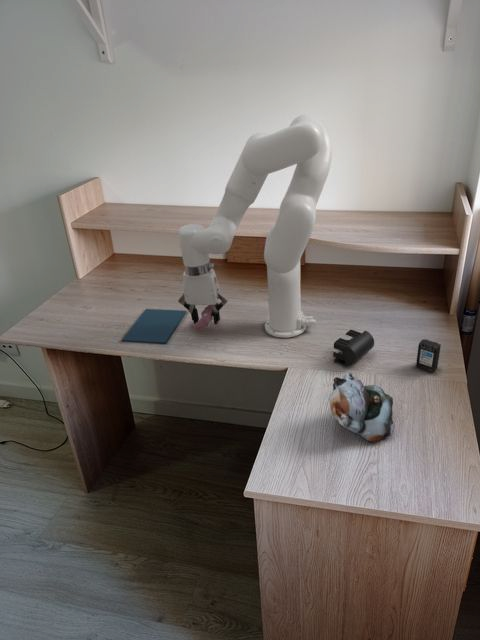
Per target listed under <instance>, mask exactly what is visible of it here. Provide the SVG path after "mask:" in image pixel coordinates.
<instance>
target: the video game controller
mask: <svg viewBox="0 0 480 640" xmlns="http://www.w3.org/2000/svg"><path fill="white" fill-rule="evenodd" d="M213 312H214V311H213V309H212V307H211V306H210V305H206V307H205V308H204V309H203V310H202V311H201V313H200V315H201V317H200V318H199V321H198V322H197V323H195V324H194V323H193V327H192V328H193V330H194V331H195V332H199V331H202V330H203V329H205V328H208V327H209V324H211V323H213V321H214V320H213Z"/></svg>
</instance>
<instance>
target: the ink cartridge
mask: <svg viewBox="0 0 480 640" xmlns="http://www.w3.org/2000/svg"><path fill="white" fill-rule="evenodd" d="M441 346H442V344H440V343H438V342H437V341H432V340H429V339H426V338H425V339H424V338H422V339H421V340H420V341H419V343H418V346H417V355H416V362H415V368H416V369H419V370H420V371H421V370H422V371H425V372H427V373H430V374H434V373H435V372H436V371H437V370H438V365H439V360H440V352H441Z"/></svg>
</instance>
